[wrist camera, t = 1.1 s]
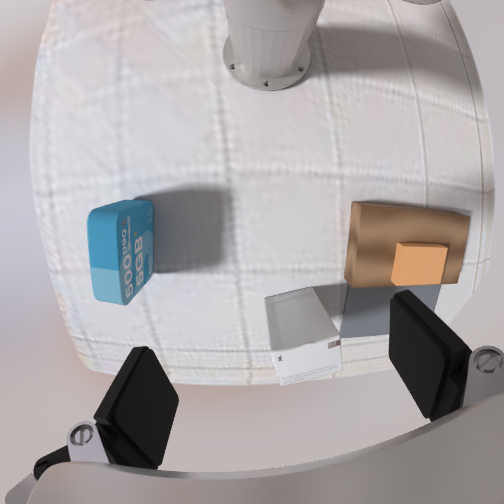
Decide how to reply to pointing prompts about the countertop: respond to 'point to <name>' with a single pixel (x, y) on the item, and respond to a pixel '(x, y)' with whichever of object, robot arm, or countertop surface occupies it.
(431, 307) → the mat
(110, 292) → the data package
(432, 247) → the tan foam pad
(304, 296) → the skincare box
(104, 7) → the countertop surface
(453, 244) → the brown wooden block
